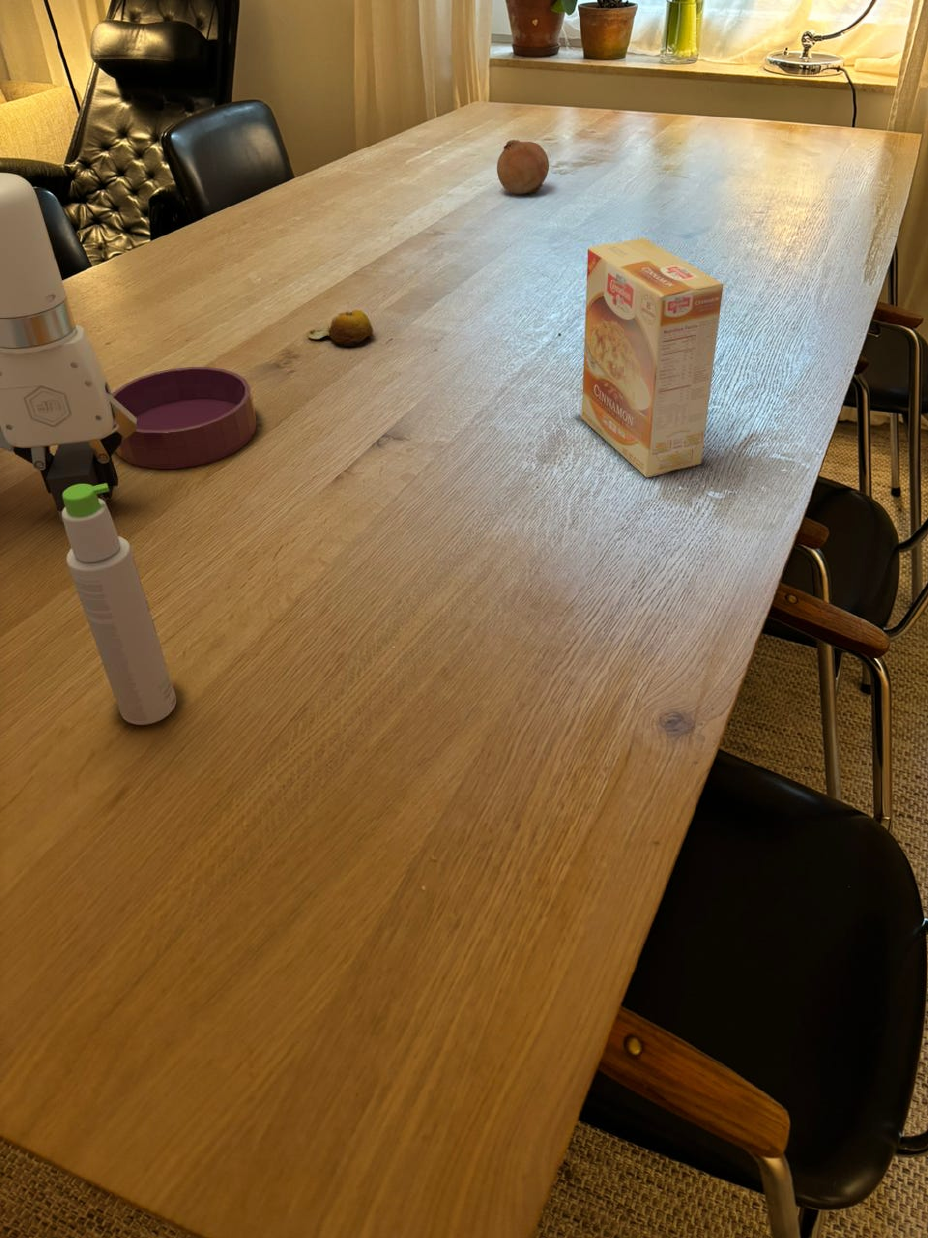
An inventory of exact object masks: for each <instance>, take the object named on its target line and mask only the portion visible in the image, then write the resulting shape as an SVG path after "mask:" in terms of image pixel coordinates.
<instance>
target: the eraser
mask: <svg viewBox="0 0 928 1238" xmlns="http://www.w3.org/2000/svg"><path fill="white" fill-rule="evenodd" d="M54 455H55V456H54V459H53V462H52V465H51V467H50V470H49V473H48V476H47V482H48V484H49V487H50V490H51V493H50V494H51V496H52V498H53V501H54V504H55V507H56V510H57V511H58V516H59V519H60V522H61V523H64V522H63V518H62V511H63V509H64V508H65V504H64V501H63V496H62V495H63V492H64V491H65V490H66V489H67V488H69V487H71V486H73V485H77V484H89V485H91V486H96V485H100V484H99V481H98V478H97V475H96V472H95V468H94V464H95V461H96V460H95V455H94V453H93V451H92V450H91V448H90V446H89V444H88V442H80V443H72V444H62V445H57V447H56V450H55V453H54ZM97 497H98V499H101V500H103V501H104V502H105V503H106V504H107V500H108V499H106V498H104V497H103V494H102V493H100V494H97Z"/></svg>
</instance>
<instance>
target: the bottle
mask: <svg viewBox="0 0 928 1238" xmlns="http://www.w3.org/2000/svg"><path fill="white" fill-rule="evenodd" d="M108 491H109V488H108V485H107V483H104V484H100V485H96V486H91V485H89V484H77V485H73V486H71V487H69V488H67V489H66V490H65V491H64V492H63V495H62V496H63V501H64V504H65V508H64V509H63V511H62V518H63V522H62V523H63V525H64V529H65V533H66V536H67V539H68V542H69V545H70V550H69V551H68V553H67V555H66V565H67V567H68V570H69V572H70V575H71V578H72V581H73V584H74V586H75V589H76V593H77V595H78V599H79V601H80V602H81V603H80V604H81V606H82V609H83V612H84V615H85V618H86V621H87V623H88V627H89V629H90V631H91V635H92V637H93V640H94V643H95V646H96V648H97V651H98V654H99V657H100V660H101V662H102V666H103V668H104V671H105V674H106V677H107V679H108V683H109V685H110V688H111V691H112V694H113V696H114V699H115V701H116V704H117V708H118V710H119V713H120V715H121V717H122V719H123V720H124V721H126V722H127V723H129V724H132V725H135V726H146V725H151V724H155V723H158V722H160V721H163V719H165V718H167V717H168V716H169V715H170V714H171V713H172V712H173V710H174V709H175V707H176V704H177V696H176V692H175V689H174V686H173V682H172V679H171V676H170V672H169V669H168V665H167V663H166V662H167V661H166V659H165V655H164V652H163V650H162V646H161V643H160V640H159V636H158V632H157V630H156V627H155V623H154V620H153V617H152V613H151V609H150V607H149V602H148V600H147V597H146V593H145V590H144V587H143V583H142V580H141V576H140V573H139V569H138V566H137V564H136V560H135V557H134V553H133V551H132V547H131V544H130V542H129V541H128V540H127V539H126V538H123V537H122V536H119V535H118V532H117V528H116V525H115V523H114V520H113V517H112V515H111V512H110V510H109V507H108V505H107V502H106V503H105V502H104V501H103V500H101V499H98V497H97V494H100V493H104V492H108Z"/></svg>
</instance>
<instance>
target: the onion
mask: <svg viewBox="0 0 928 1238" xmlns="http://www.w3.org/2000/svg"><path fill="white" fill-rule="evenodd" d="M505 144H506V145H504V147H503V150H502V152H501V153H500V155H499V156H498V158H497V161H496V173H497V178H498V181H499V183H500V184H501V186H502V188H503V189H504V190H505V191H506V192H509V193H510V194H512V195H528V196H530V195H533V194H536V193H537V192H538V191H539V190H540V189H541V188H542V187H543V186H544V184H543V183H544V182H545V180H546V179H547V177H548V174H549V171H550V161H549V157H548V154H547V152H546V151H545V149H544V148H543V147H542V146H541V145H540V144H539V143H537V142H533V141H520V140H519V139H511V140H509V141H507V142H506V143H505Z"/></svg>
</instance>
